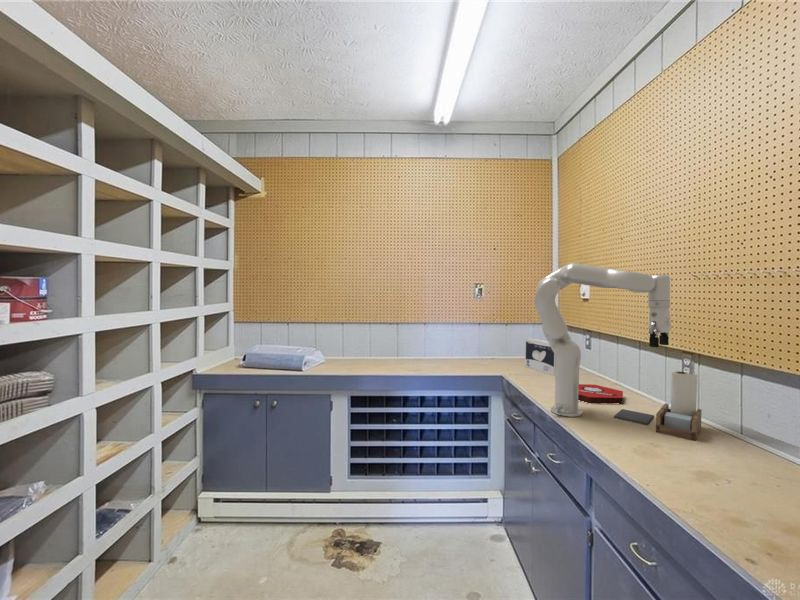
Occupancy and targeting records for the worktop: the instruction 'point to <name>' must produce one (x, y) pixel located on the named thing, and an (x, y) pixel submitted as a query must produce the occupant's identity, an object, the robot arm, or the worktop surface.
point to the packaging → (540, 356)
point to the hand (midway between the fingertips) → (659, 345)
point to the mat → (634, 416)
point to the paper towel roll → (683, 393)
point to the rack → (677, 431)
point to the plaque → (599, 394)
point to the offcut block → (678, 421)
